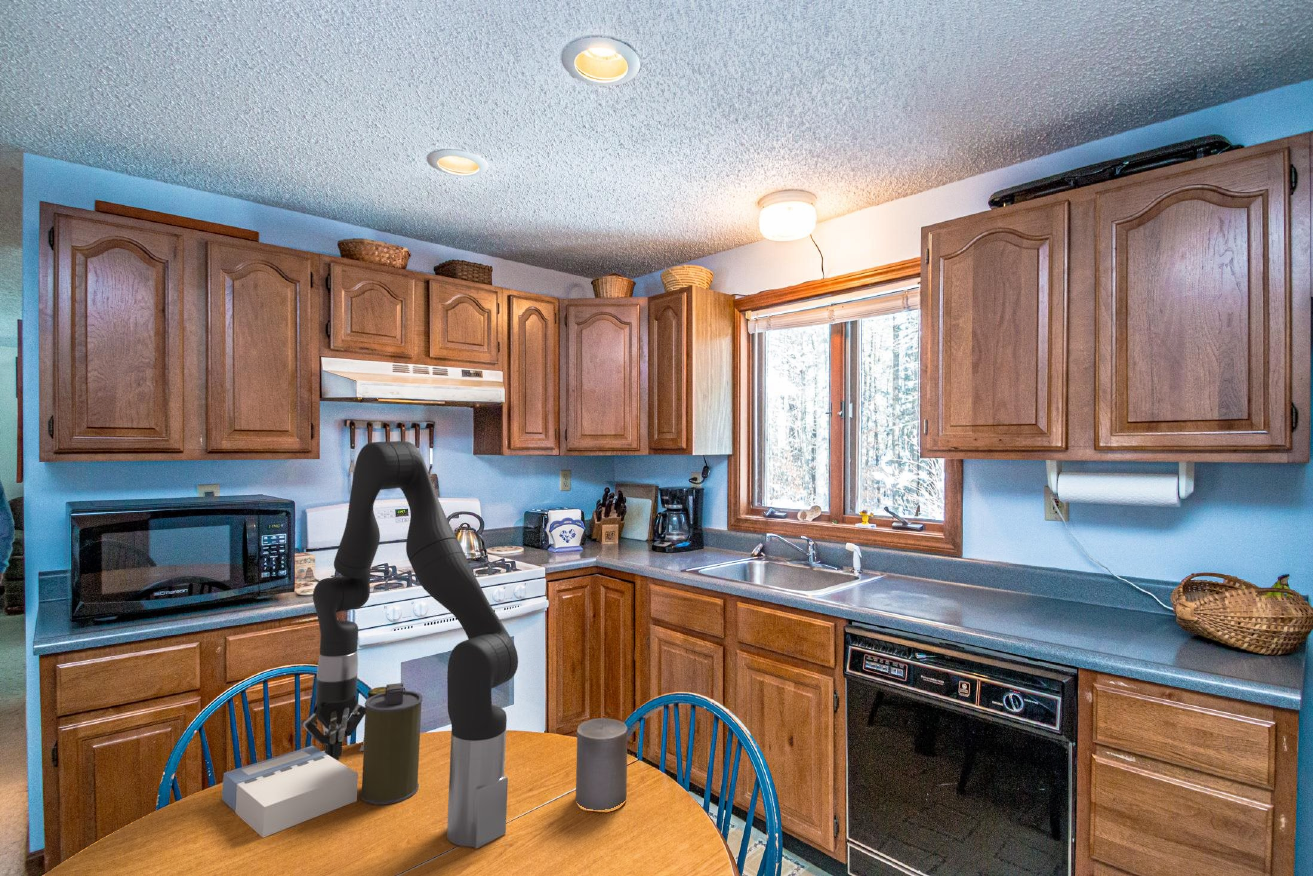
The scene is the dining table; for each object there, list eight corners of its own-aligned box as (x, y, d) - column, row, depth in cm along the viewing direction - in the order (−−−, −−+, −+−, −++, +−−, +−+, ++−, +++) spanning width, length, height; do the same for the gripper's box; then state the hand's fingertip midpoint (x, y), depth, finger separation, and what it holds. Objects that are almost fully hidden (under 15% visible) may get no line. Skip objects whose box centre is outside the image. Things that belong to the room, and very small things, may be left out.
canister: (421, 799, 122) (426, 691, 123) (360, 809, 118) (366, 698, 119) (415, 773, 132) (420, 674, 133) (359, 783, 127) (364, 679, 128)
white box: (356, 800, 121) (358, 772, 121) (262, 837, 108) (264, 806, 108) (326, 780, 128) (327, 754, 128) (235, 812, 115) (236, 783, 116)
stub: (325, 779, 128) (326, 753, 128) (234, 811, 116) (236, 782, 116) (311, 769, 132) (313, 745, 132) (222, 799, 119) (223, 772, 119)
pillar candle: (611, 783, 130) (612, 707, 131) (635, 805, 122) (637, 724, 122) (566, 796, 125) (568, 717, 125) (589, 820, 117) (591, 735, 117)
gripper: (312, 686, 126) (307, 777, 125) (377, 671, 136) (373, 755, 135) (295, 677, 130) (290, 765, 129) (359, 663, 141) (355, 744, 140)
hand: (333, 760), depth 132 cm, fingers closed
